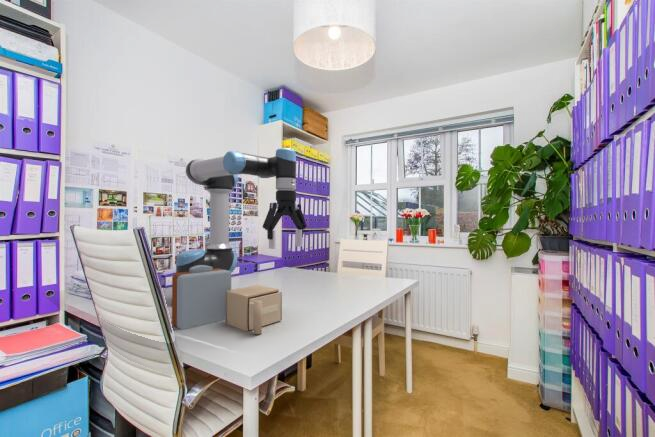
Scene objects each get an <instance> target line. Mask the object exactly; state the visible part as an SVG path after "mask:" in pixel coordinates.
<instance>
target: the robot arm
mask: <svg viewBox="0 0 655 437" xmlns="http://www.w3.org/2000/svg"><path fill="white" fill-rule="evenodd" d="M296 154H297V152H296V150H295V149H293V148H289V147H278V148H277V149H276V150H275V156H272V157H271V156H270V157H268V156H267V157H266V156H260V155H255V154H249V153H245V152H240V151H232V150H231V151H226V153H224V156H219V157H213V158H208V159H203V158H196V159H193V160H190V161H189V162H188V163H187V165H186V167H185V174H186V177H187V178H188V179H189V180H190V181H191V182H192V183H193V184H196V185H199V186H206V192H208V193H209V195H210V196H209V199H210V200H209V201H210V202H209V205H210V206H209V207H210V208H209V214H210V215H209V244H208V245H207V247H206V251H205V249H204V248H203V249H202V248H201V249H190V250H185V251H182V252H179V253H178V254H177V255H176V260H175V262H176V263H175V268H176V269H175V274H176V273H181V272H189V269H190V268H191V267H194V266H197V265H206V266H211V267H213V269H217V268H219V269H223V270H227V271H230V272H231V274H232V273H233V272H234V270H235V269H236V267H237V263H238V256H237V253H236V251H234V250H233V246H232V245H231V244H230V194H231V193H232V192H233V189H234V188H235V187H237V185H238V175H250V176H257V177H258V178H260V179H269V178H275V190H276V191H275V201H276V202H270V203H269V209H268V212H267V214H266V217H265V219H264V222H263V223H262V228H263V229H265V231H267V234H266V235H267V240H268V249H271V250H275V249H276V230H275V228H276V226H277V225H278V223H279V221H280V220H281V218H282V217H284V216H288V217H290V219H291V221H292V222H293V224H294V226H295V228H296V229H295V247H299V248H300V247H303V237H304V236H303V235H304V230H305V229H306V228H307V227H308V225H307V222H306V219H305V216H304V214H303V210H302V205H301V204H302V203H301V204H300V203H297V204H296V203H295V202H296V201H297V191H296V190H297V155H296Z"/></svg>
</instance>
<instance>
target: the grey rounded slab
mask: <svg viewBox="0 0 655 437" xmlns="http://www.w3.org/2000/svg"><path fill="white" fill-rule="evenodd" d="M171 278H172V279H171V288H172V289H171V290H172V291H171V308H172V309H171V323H172V325H173V326H174V327H176V328H178V329H179V330H183V331H184V330H189V329H192V328H196V327H200V326H204V325H209V324H213V323H217V322H218V323H219V322H223V321H226V291H229V290H232V273H231V272H230V271H227V270H223V269H219V268H217V269H213V267H211V266H206V265H197V266H194V267H191V268H190V269H189V272H181V273H176V272H175V273H173V275H172V277H171Z"/></svg>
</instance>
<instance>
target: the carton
mask: <svg viewBox="0 0 655 437" xmlns="http://www.w3.org/2000/svg"><path fill="white" fill-rule="evenodd" d="M278 292H280V289H279V288H275V287H270V286H266V285H261V284H256V285H250V286H245V287H241V288H235V289H231V290H229V291H226V320H225V324H226V325H229V326H232V327H235V328H237V329H240V330H242V331H245V332H248V331H250V330H249V325H248V307H249V299H252V298H256V297H261V296H265V295H270V294H274V293H278Z"/></svg>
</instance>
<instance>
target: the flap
mask: <svg viewBox="0 0 655 437" xmlns="http://www.w3.org/2000/svg"><path fill="white" fill-rule="evenodd" d="M282 305H283V291H281V292H280V291H279V292H278V293H274V294H270V295H265V296H261V297H256V298H252V299H249V331H252V330H253V331H252V332H253V334H254V335H259V334H262V333H263V332H262V331H263V328H262V327H264V326H268V325H271V324H274V323H276V322H280V321H282V320H283V318H282V316H283V314H282V313H283V306H282Z"/></svg>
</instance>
